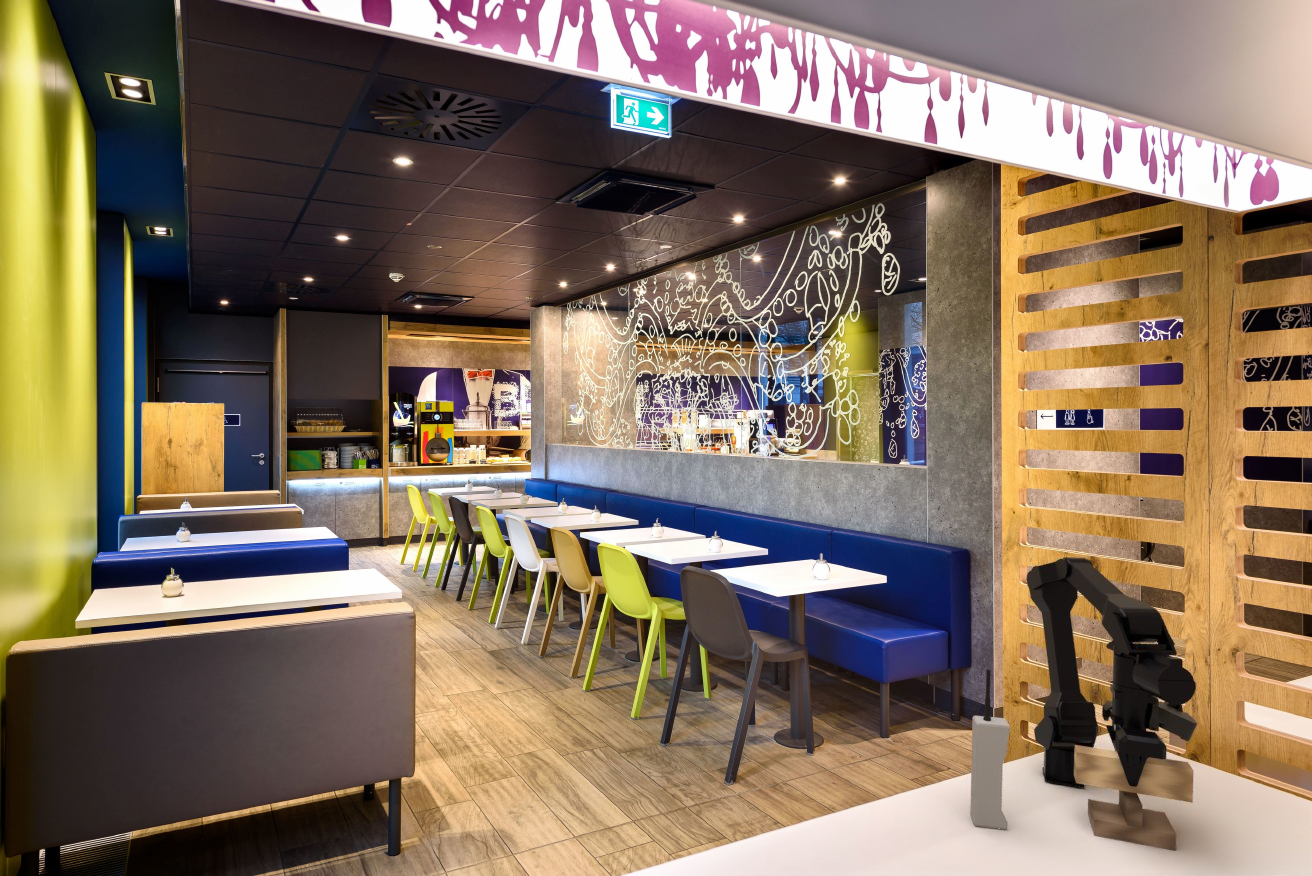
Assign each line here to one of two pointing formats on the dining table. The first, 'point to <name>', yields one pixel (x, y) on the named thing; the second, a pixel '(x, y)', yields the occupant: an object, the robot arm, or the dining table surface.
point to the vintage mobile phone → (988, 766)
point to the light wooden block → (1154, 781)
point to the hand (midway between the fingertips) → (1130, 781)
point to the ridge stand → (1131, 822)
